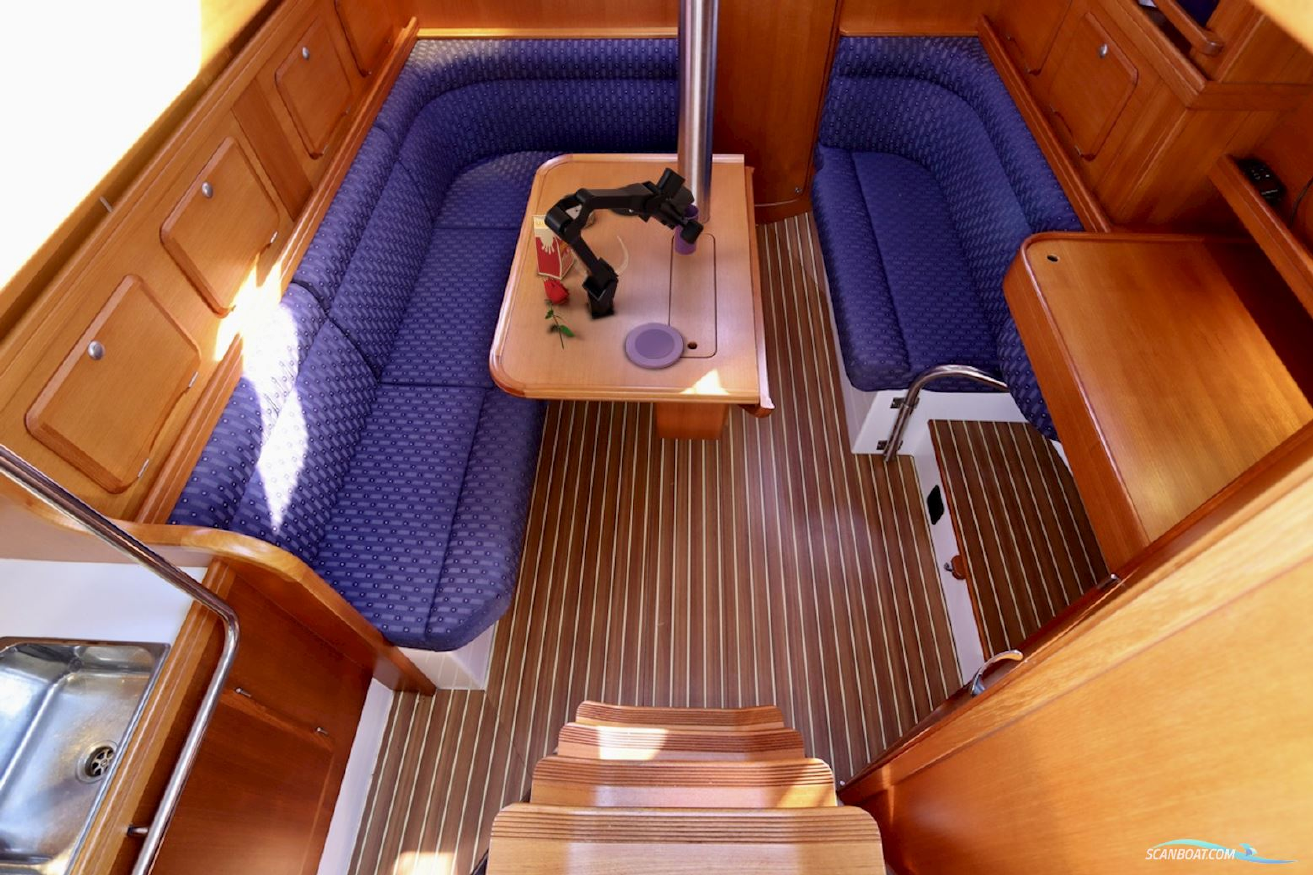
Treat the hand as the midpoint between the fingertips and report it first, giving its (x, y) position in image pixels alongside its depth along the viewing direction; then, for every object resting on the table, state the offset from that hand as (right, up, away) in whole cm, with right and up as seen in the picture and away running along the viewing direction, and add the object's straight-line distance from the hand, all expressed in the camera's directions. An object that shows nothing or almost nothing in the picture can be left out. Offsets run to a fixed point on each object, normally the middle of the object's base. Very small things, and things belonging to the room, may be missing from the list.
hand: (690, 227), depth 191 cm
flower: (-37, -29, -4) cm, 47 cm away
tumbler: (-1, -4, +5) cm, 7 cm away
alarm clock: (-36, +11, +23) cm, 44 cm away
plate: (-10, -37, -10) cm, 39 cm away
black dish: (-19, +17, +27) cm, 37 cm away
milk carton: (-41, -10, +9) cm, 43 cm away
